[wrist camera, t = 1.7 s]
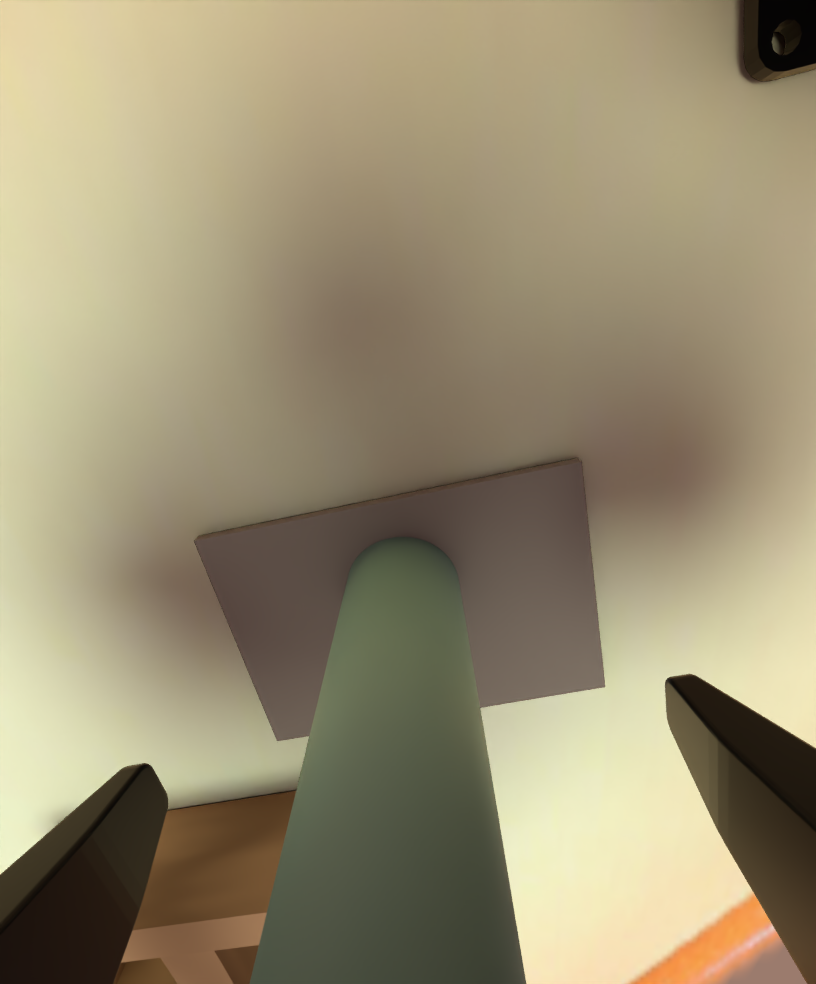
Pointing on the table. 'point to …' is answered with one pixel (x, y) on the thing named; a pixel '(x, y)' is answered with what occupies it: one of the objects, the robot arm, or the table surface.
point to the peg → (394, 799)
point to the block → (208, 893)
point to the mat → (481, 572)
